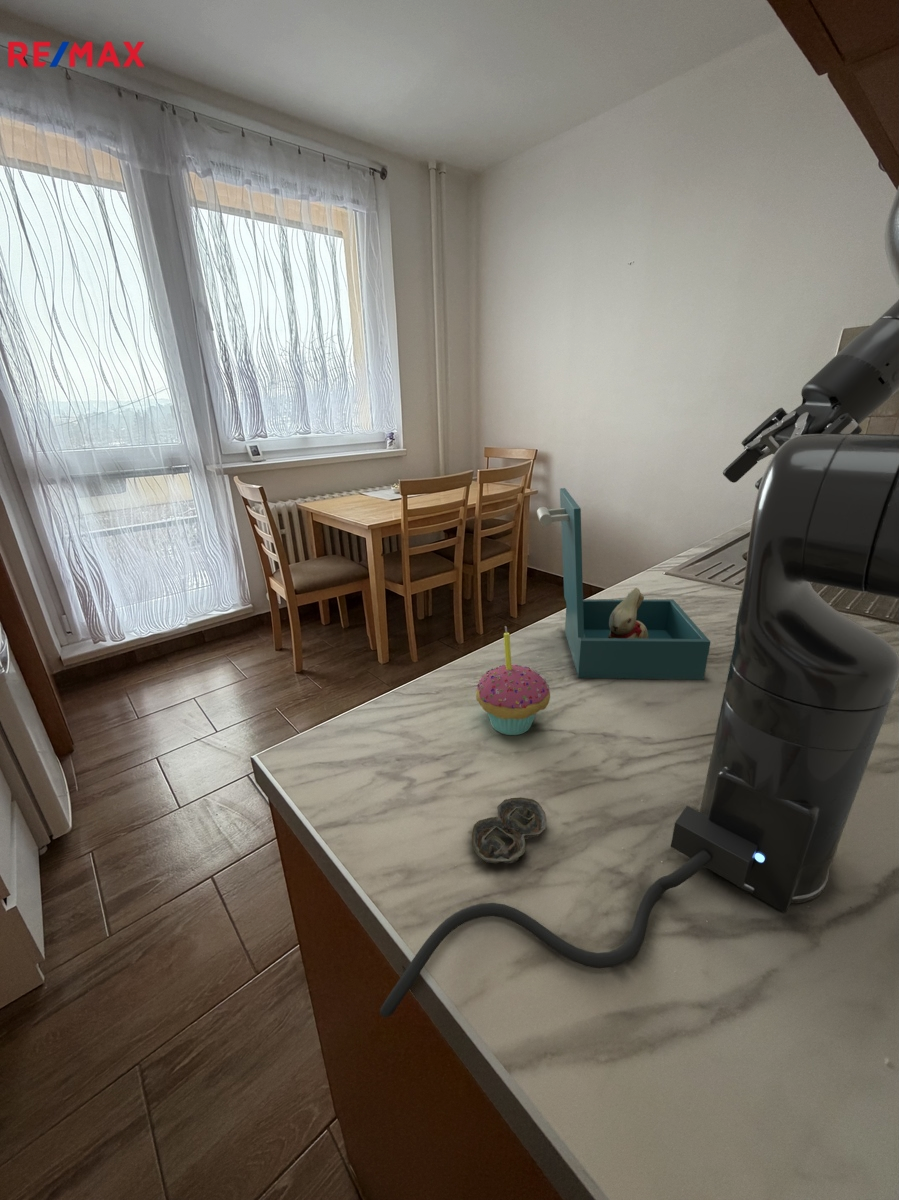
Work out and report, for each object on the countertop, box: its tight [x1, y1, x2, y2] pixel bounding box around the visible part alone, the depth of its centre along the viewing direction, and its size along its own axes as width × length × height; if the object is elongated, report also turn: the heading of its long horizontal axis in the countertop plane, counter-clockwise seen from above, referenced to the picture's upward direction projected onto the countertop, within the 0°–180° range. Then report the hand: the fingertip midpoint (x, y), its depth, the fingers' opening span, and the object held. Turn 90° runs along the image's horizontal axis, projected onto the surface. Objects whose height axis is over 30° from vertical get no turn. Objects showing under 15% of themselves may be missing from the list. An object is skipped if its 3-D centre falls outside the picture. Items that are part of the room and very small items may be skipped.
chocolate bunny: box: [608, 587, 649, 639], centre depth 70 cm, size 6×8×10 cm
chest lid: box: [536, 487, 584, 638], centre depth 68 cm, size 17×15×5 cm
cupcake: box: [475, 625, 551, 736], centre depth 56 cm, size 9×8×12 cm
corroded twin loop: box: [471, 796, 547, 864], centre depth 43 cm, size 5×8×1 cm, turn 135°
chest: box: [564, 598, 711, 681], centre depth 71 cm, size 17×15×6 cm
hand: (743, 484), depth 61 cm, fingers open, 8 cm apart
